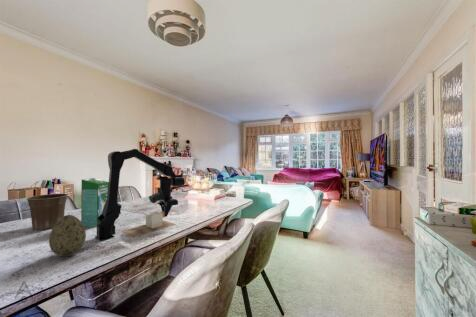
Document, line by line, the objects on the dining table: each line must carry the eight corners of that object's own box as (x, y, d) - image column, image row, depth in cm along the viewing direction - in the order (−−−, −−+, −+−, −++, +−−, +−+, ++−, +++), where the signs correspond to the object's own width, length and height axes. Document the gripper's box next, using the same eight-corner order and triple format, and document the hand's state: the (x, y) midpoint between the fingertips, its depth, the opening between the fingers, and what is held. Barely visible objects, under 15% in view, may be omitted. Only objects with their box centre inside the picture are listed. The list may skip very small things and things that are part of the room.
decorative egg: (50, 253, 81) (50, 214, 81) (84, 246, 88) (85, 210, 88) (47, 265, 73) (48, 221, 72) (86, 256, 79) (86, 216, 79)
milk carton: (97, 226, 113) (98, 179, 113) (80, 226, 113) (81, 179, 113) (108, 221, 122) (108, 177, 122) (92, 221, 122) (93, 177, 122)
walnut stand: (133, 239, 96) (133, 228, 96) (121, 233, 103) (121, 222, 103) (176, 226, 115) (176, 217, 115) (162, 222, 122) (163, 213, 122)
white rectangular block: (149, 229, 107) (149, 216, 107) (143, 226, 111) (143, 214, 110) (169, 223, 116) (169, 211, 116) (162, 221, 119) (162, 210, 119)
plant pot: (16, 232, 103) (16, 199, 103) (43, 222, 119) (44, 193, 119) (52, 231, 105) (52, 198, 105) (74, 221, 121) (74, 193, 121)
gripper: (144, 187, 118) (144, 215, 119) (157, 191, 105) (157, 222, 105) (163, 185, 126) (163, 211, 126) (178, 189, 112) (178, 218, 113)
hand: (165, 215), depth 117 cm, fingers closed on white rectangular block
